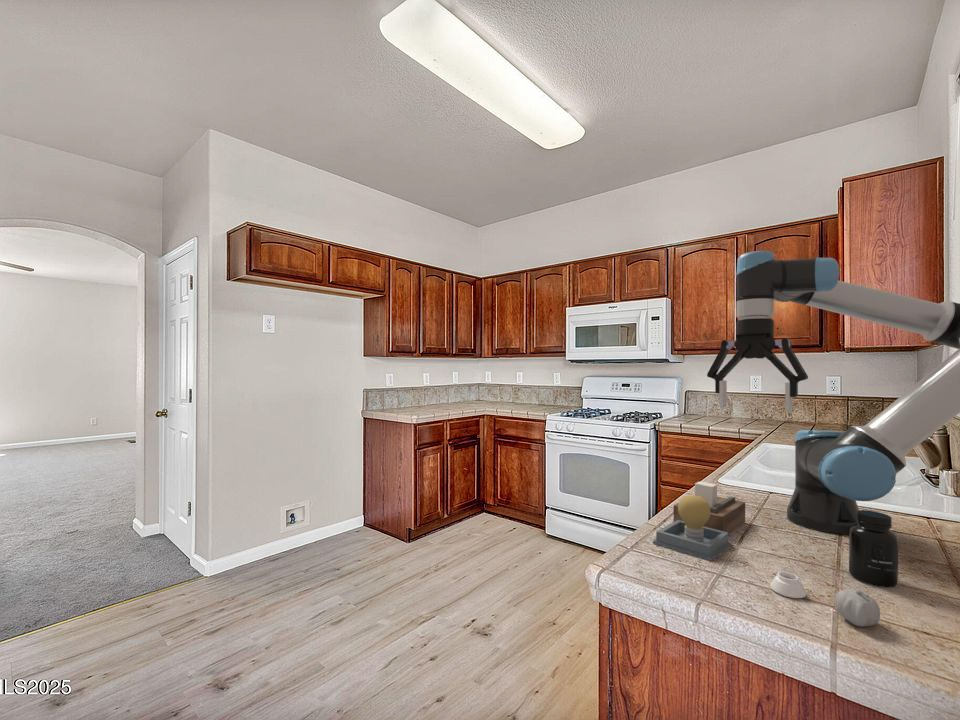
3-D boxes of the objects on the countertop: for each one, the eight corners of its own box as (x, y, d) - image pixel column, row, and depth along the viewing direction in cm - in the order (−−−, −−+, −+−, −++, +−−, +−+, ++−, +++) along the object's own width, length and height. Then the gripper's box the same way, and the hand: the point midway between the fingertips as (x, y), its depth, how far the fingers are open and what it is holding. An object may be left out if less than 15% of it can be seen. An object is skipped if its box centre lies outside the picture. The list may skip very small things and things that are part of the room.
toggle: (716, 505, 108) (717, 484, 108) (712, 508, 106) (712, 486, 106) (699, 501, 111) (699, 481, 111) (694, 504, 109) (694, 483, 109)
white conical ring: (809, 603, 74) (801, 589, 79) (809, 585, 74) (801, 572, 79) (774, 596, 76) (768, 583, 81) (774, 579, 76) (768, 567, 81)
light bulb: (714, 548, 94) (714, 500, 94) (681, 546, 95) (681, 498, 95) (705, 537, 100) (705, 492, 100) (675, 535, 101) (675, 490, 101)
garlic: (890, 637, 65) (890, 600, 65) (845, 629, 66) (845, 594, 67) (868, 614, 71) (868, 581, 71) (827, 608, 72) (827, 576, 72)
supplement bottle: (881, 591, 78) (881, 521, 78) (839, 573, 85) (839, 509, 85) (908, 585, 80) (908, 518, 80) (865, 569, 87) (866, 506, 87)
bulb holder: (731, 544, 98) (731, 532, 98) (711, 561, 89) (711, 548, 89) (676, 529, 106) (676, 518, 106) (652, 543, 98) (653, 531, 98)
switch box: (745, 522, 112) (745, 498, 112) (722, 539, 101) (722, 512, 101) (699, 511, 120) (699, 489, 120) (673, 526, 109) (673, 501, 109)
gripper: (823, 316, 99) (823, 412, 99) (704, 323, 117) (704, 404, 117) (816, 313, 94) (816, 415, 94) (693, 321, 112) (693, 406, 112)
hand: (754, 409), depth 105 cm, fingers open, 13 cm apart
